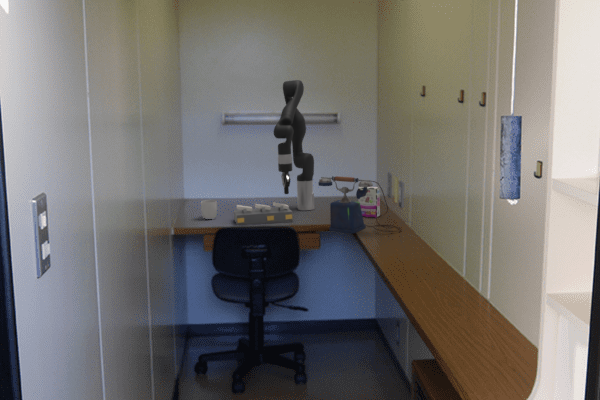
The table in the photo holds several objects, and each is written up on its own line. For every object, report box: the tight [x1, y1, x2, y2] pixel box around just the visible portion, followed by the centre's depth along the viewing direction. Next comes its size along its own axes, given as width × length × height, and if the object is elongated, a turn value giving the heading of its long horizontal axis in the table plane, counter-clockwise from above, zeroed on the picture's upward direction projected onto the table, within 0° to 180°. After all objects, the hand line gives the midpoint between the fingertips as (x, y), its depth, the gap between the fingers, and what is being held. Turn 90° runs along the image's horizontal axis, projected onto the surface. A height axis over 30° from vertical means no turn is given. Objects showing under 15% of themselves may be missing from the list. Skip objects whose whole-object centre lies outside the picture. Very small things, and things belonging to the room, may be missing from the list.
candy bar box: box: [357, 186, 381, 219], centre depth 350 cm, size 11×5×16 cm, turn 62°
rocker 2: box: [272, 201, 290, 209], centre depth 348 cm, size 8×4×2 cm, turn 103°
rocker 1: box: [236, 204, 253, 211], centre depth 343 cm, size 8×4×2 cm, turn 103°
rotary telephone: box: [317, 176, 402, 234], centre depth 321 cm, size 41×22×27 cm, turn 59°
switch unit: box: [233, 206, 293, 226], centre depth 346 cm, size 30×14×8 cm, turn 102°
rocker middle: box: [254, 203, 272, 210], centre depth 345 cm, size 8×4×2 cm, turn 103°
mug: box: [200, 199, 218, 219], centre depth 357 cm, size 13×9×10 cm
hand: (286, 193), depth 347 cm, fingers closed
